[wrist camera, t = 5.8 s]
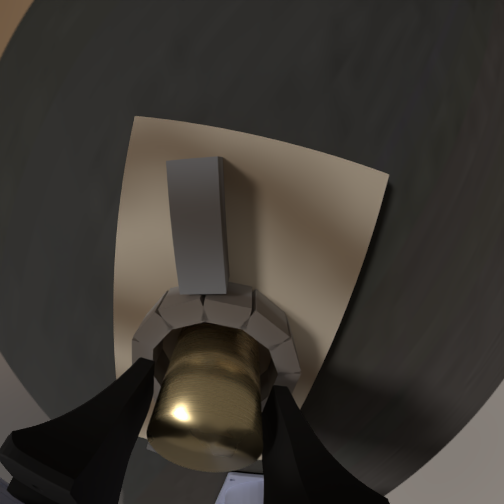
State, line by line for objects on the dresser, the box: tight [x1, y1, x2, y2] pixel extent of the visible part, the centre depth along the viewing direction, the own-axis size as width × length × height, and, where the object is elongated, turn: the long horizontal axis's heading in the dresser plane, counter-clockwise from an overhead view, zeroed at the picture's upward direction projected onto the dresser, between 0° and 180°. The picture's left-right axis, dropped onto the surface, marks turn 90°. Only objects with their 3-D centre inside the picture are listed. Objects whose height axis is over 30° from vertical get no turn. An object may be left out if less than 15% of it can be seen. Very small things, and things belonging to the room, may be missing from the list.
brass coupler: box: [146, 322, 263, 472], centre depth 11 cm, size 4×4×6 cm
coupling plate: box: [114, 116, 389, 460], centre depth 13 cm, size 20×11×3 cm, turn 167°
